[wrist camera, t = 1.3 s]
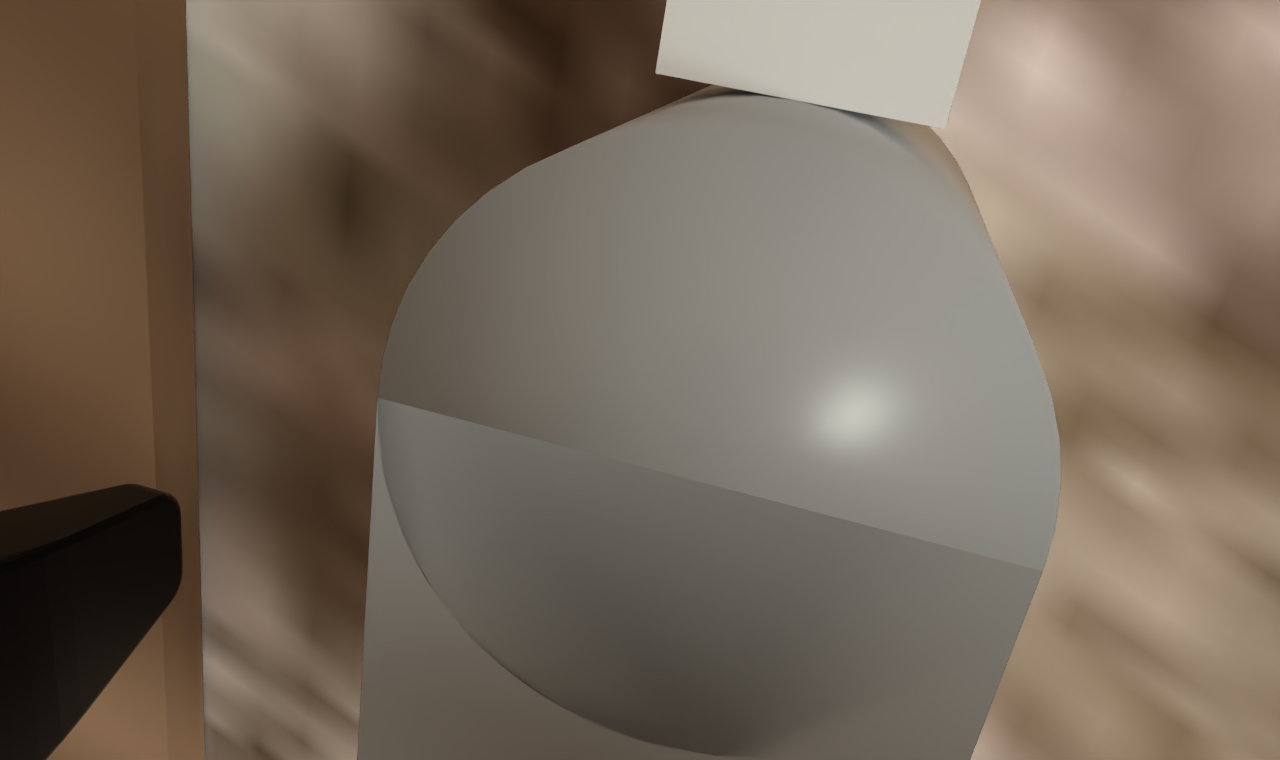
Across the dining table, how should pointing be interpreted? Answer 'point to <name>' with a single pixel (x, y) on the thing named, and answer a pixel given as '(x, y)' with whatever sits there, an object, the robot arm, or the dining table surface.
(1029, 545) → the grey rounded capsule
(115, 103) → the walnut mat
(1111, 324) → the dining table surface
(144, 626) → the robot arm
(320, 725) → the dining table surface
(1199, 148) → the dining table surface
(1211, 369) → the dining table surface
